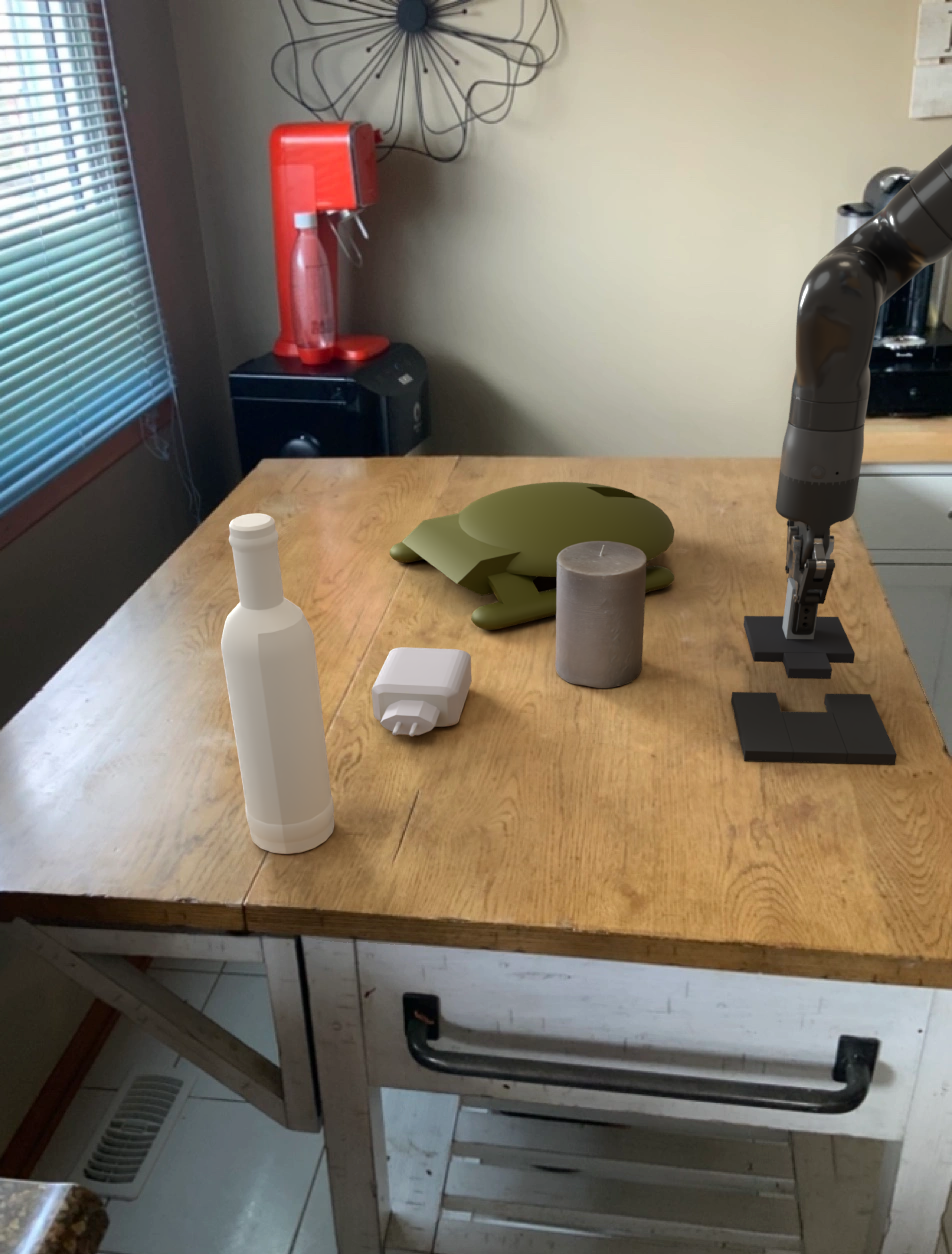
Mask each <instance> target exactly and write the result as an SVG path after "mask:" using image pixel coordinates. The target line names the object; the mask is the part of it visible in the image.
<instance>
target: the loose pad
mask: <svg viewBox="0 0 952 1254" xmlns="http://www.w3.org/2000/svg"><path fill="white" fill-rule="evenodd" d="M787 578H788V577H787ZM795 582H796V581H795V580H794V579H793V578H788V582H787V587H786V595H785V603H784V611H783V615H744V616H743V623H742V624H743V629H744V632H745V635H746V639H747V641H748V642H747V643H748V646H749V650H750V653H751V656H752V657H751V658H752V661H753V662H754V663H782V664H783V668H784V671H785V673H786V677H787V679H794V680H795V679H797V680H798V679H800V680H801V679H802V680H804V679H805V680H831V679H832V673H833V668H832V664H854V663H855V656H856V652H855V650H854V648H853V646H852V644H851V641H850V639H849V637H848V635H847V632H846V631H845V629H844V626H843V625H842V622H841V619H840V618H839V616H818V610H819V604H817V609H816V616H815V624H814V631H813V633H812V634H810V635H794V634H793V633H792V631H791V622H792V614H793V606H794V599H793V595H794V592H795ZM808 591H814V590H808Z"/></svg>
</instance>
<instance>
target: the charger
mask: <svg viewBox="0 0 952 1254" xmlns="http://www.w3.org/2000/svg"><path fill="white" fill-rule="evenodd" d="M472 677H473V676H472V655H471V654H470V653H469V652H467V651H465V650H462V649H456V648H434V647H433V648H432V647H431V648H430V647H410V646H409V647H407V646H403V647H401V646H400V647H395V648H392V649H391V650H390V651H389V652H388V654H387V657H386V658H385V660H384V663H383V665H382V667H381V669H380V671H379V673H378V675H377V677H376V679H375V681H374V683H373V686H372V688H371V700H372V712H373V713H372V714H373V717H374V719H376V720H377V721H379V724H380V725H381V726H382V727H383V728H385V730H387V731H390V732H391V733H392V735H393V736H397V735H408V736H409V737H414V736H420V735H423V734H425V733H428V732H430V731H432V730H433V729H434V728H435V727H441V728H442V727H450V726H454V725H457V724H458V723H459V721H460V718H461V715H462V711H463V709H464V706H465V703H466V699H467V697H468V693H469V691H470V687H471V684H472V680H473V679H472Z"/></svg>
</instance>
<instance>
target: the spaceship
mask: <svg viewBox="0 0 952 1254" xmlns="http://www.w3.org/2000/svg"><path fill="white" fill-rule="evenodd" d="M674 538H675V528H674V525H673V523H672V520H671V518H670V517H669V516H668V515H667V513H666V512H665V511H664V510H663V509H662V508H660V506H658V505H656V503H653V502H651V501H649V500H648V499H647V498H643V497H641V496H639V495H636V494H634V493H633V492H631V491H627V490H625V489H621V488H617V487H614V486H610V485H605V484H598V483H589V482H581V481H579V482H578V481H549V482H548V481H547V482H538V483H529V484H522V485H517V486H516V485H515V486H512V487H508V488H504V489H500V490H498V491H495V492H492V493H490V494H487V495H485V496H482V497H480V498H478V499H476V500H474V501H472V502H471V503H469V504H468V505H466V506H465V507H464V508H462V509H461V510H459V512H457V513H452V514H448V515H447V514H446V515H443V516H439V517H438V516H437V517H434V518H433V517H432V518H428V519H423V520H422V521H421V522H420V523H419V524H418V525H417V526H416V527H414V529H413V530H412V531H411V532H410V533H409V534H407V535H406V537H405V538H404V539H403V540H402V541H400V542H397V543H394V545H392V546H391V547H390V549H389V556H390V558H391V559H393V560H394V561H396V562H399V563H404V564H406V563H407V564H408V563H414V562H418V561H423V560H425V561H426V562H427V563H428V564H430V565H431V566H433V567H434V568H435V569H436V570H438V571H439V572H440V573H442V574H444V576H446V577H447V578H448V579H449V580H451V581H452V582H454V583H455V584H456V585H459V586H461V587H462V588H465V589H466V590H469V591H471V592H473V593H475V594H477V595H479V596H486V595H490V594H494V595H495V598H496V599H497V601H496V602H492V603H488V604H484V605H481V606H479V607H477V608H476V609H474V610H473V611H472V613H471V616H470V618H471V621H472V623H473V624H474V625H475V626H476V627H478V628H480V629H482V630H492V631H494V630H500V629H504V628H509V627H513V626H518V625H521V624H525V623H530V622H533V621H537V620H541V619H544V618H548V617H553V616H556V600H557V598H556V595H557V587H553V588H551V589H545V590H542V591H538V588H537V587H536V585H535V584H534V581H535V580H536V579H537V578H538V577H548V578H557V561H556V560H557V557H558V554H559V553H560V552H561V551H562V550H563V549H565V548H567V547H569V546H572V545H575V544H579V543H583V542H591V541H611V542H618V543H624V544H628V545H631V546H634V547H636V548H638V549H640V550H641V551H643V553H644V554H645V555H646V558H647V561H646V563H647V562H648V561H651V560H653V559H656V558H658V557H659V556H660V555H662V554H663V553H664V552H666V551H667V550H668V549H669V547H670V546H671V545H672V544H673V542H674ZM674 582H675V574H674V572H673V571H672V570H671V569H670V568H667V567H665V566H662V565H646V586H645V594H646V593H650V592H653V591H658V590H661V589H666V588H667V587H670V586H671V584H672V583H674Z"/></svg>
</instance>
